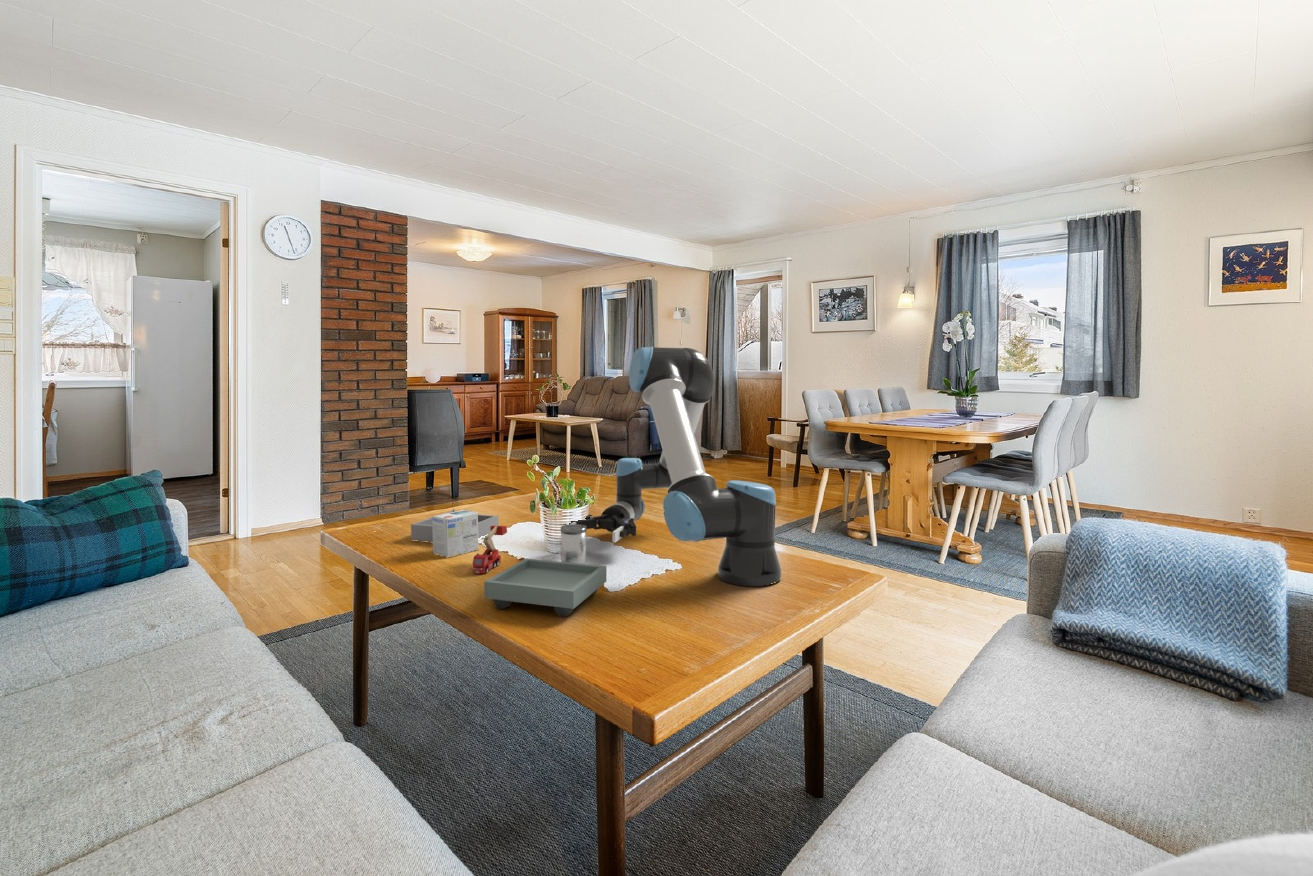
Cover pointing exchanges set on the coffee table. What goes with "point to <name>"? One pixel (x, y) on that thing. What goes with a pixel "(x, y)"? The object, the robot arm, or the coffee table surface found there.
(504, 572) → the dolly
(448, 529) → the light bulb box
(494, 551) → the toy fire truck
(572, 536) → the canister
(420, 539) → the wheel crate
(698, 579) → the coffee table surface
